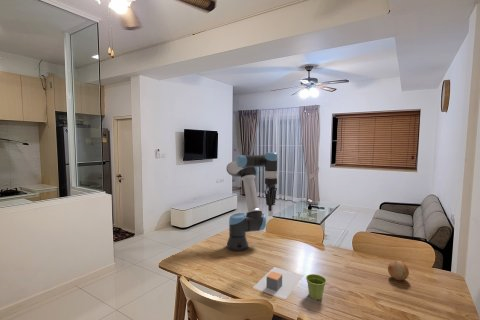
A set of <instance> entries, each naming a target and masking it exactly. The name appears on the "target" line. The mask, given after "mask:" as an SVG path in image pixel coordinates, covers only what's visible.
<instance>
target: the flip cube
mask: <svg viewBox="0 0 480 320" xmlns="http://www.w3.org/2000/svg"><path fill="white" fill-rule="evenodd" d="M270 271H271V270H270ZM281 287H282V274H279V273H276V272H273V271H271V272H270V273H269V274H268V275H267V287H266V288H269V289H272V290H275V291H278V290H279V289H280V288H281Z"/></svg>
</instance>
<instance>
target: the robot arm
mask: <svg viewBox="0 0 480 320" xmlns="http://www.w3.org/2000/svg"><path fill="white" fill-rule="evenodd" d="M278 161H279V158H278V153H277V152H271V151H270V152H269V151H268V152H265V153H264V154H255V155H253V154H252V155H247V154H245V155H243V154H240V155H237V157H236V160H235V161H231V162H229V163H228V164H227V165H226V172H227V173H228V175H230V176H232V177H238V178H239V177H240V180H241V181H243V187H244V193H245V200H246V207H247V212H246V213H244V212H241V213H240V212H238V213H237V212H236V213H234V214H232V215H230V216H229V219H228V220H229V221H228V227H229V228H228V229H229V233H228V234H229V237H228V240H227V242H226V248H227V250H228V251H229V250H230V251H231V250H232V251H233V252H241V251H242V252H243V251H245V250H248V248H249V243H248V240H247V236H246V235H247V234H246V233H250V232H251V233H252V232H259V231H264V230H265V229H266V226H267V218H266V217H267V216H266V214H265V213H263V211H262V210H261V209H260V205H259V199H258V193H257V189H256V182H255V179H256V178H257V175H258V168H262V167H263V168H264V177H265V178H264V184H265V185H266V189H265V190H264V191H263V192H264V194H265V195H264V196H265V202H266V203H265V204H266V206H268V208H267V210H268V211H267V212H268V213H267V214H268V216H269V217H273V216H274V206H276V199H277V191H278V188H277V187H276V186H277V184H278ZM232 251H231V252H232Z"/></svg>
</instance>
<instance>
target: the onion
mask: <svg viewBox="0 0 480 320" xmlns="http://www.w3.org/2000/svg"><path fill="white" fill-rule="evenodd" d="M387 272H388V274H389V275H390V277H391V278H393V279H394V280H396V281H404V280H406V279H407V278H408V277H409V276H410V271H409V267H408V266H407V265H406V263H405V262H403V261H402V260H396V259H395V260H392V261H390V262H389V263H388V265H387Z"/></svg>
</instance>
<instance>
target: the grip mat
mask: <svg viewBox="0 0 480 320" xmlns="http://www.w3.org/2000/svg"><path fill="white" fill-rule="evenodd" d="M271 271H273V272H276V273H279V274H282V287H281V288H280V289H279V290H278V291H275V290H272V289H269V288H266V287H267V275H268V274H269V273H270V272H271ZM303 277H304V274H300V273H297V272H295V271H291V270H287V269H283V268H279V267H276V266H273V268H271V269H270V270H269V271H268V272H267V273H266V274H265V275H264V276H263V277H262V278H261V279H260V280H259V281H257V283H256V284H255V285H254V286H253V287H252V288H253V289H255V290H258V291H261V292H263V293H266V294H268V295H271V296H274V297H277V298H279V299H281V300H287V298H288V297H289V296H290V294H291V293H292V292H293V291H294V289H295V288H296V286H297V285H298V284H299V282H300V281H301V280H302V278H303Z"/></svg>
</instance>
